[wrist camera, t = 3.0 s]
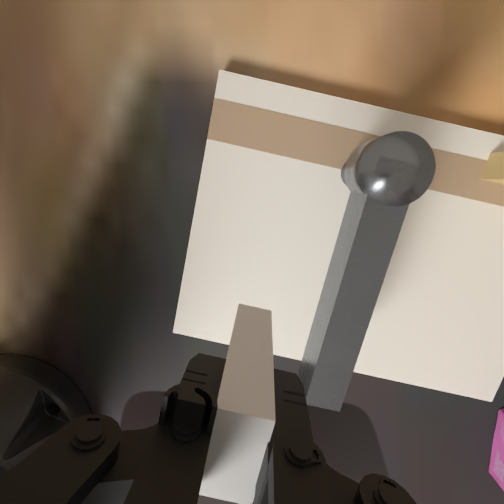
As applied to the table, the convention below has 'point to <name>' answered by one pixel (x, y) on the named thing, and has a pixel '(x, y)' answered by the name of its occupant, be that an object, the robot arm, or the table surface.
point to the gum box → (498, 451)
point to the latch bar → (362, 258)
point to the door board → (327, 228)
